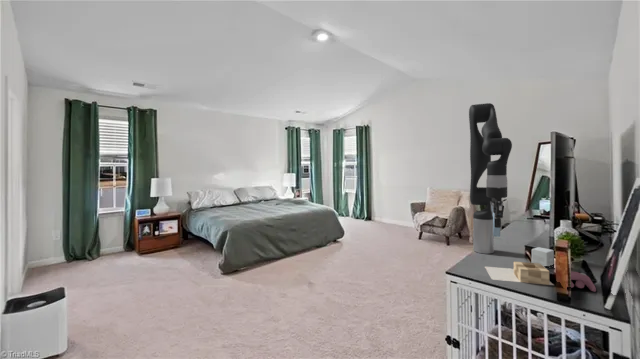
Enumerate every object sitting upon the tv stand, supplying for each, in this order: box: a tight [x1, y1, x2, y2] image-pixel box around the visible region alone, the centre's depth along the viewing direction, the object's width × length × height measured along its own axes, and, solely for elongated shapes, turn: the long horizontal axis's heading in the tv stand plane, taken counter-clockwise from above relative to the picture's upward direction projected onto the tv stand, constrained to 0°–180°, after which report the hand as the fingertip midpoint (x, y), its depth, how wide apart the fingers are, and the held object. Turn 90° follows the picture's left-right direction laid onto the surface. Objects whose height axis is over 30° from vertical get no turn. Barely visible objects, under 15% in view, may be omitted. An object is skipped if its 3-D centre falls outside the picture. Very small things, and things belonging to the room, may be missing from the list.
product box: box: [530, 246, 555, 266], centre depth 126 cm, size 6×6×7 cm
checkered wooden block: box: [513, 261, 550, 286], centre depth 112 cm, size 9×9×5 cm
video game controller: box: [570, 271, 597, 293], centre depth 104 cm, size 10×5×7 cm, turn 77°
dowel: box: [493, 210, 501, 238], centre depth 122 cm, size 3×3×12 cm
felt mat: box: [484, 266, 554, 286], centre depth 116 cm, size 15×20×1 cm
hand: (496, 226), depth 122 cm, fingers closed on dowel, 2 cm apart
